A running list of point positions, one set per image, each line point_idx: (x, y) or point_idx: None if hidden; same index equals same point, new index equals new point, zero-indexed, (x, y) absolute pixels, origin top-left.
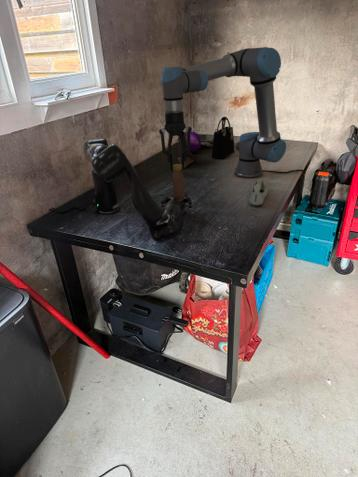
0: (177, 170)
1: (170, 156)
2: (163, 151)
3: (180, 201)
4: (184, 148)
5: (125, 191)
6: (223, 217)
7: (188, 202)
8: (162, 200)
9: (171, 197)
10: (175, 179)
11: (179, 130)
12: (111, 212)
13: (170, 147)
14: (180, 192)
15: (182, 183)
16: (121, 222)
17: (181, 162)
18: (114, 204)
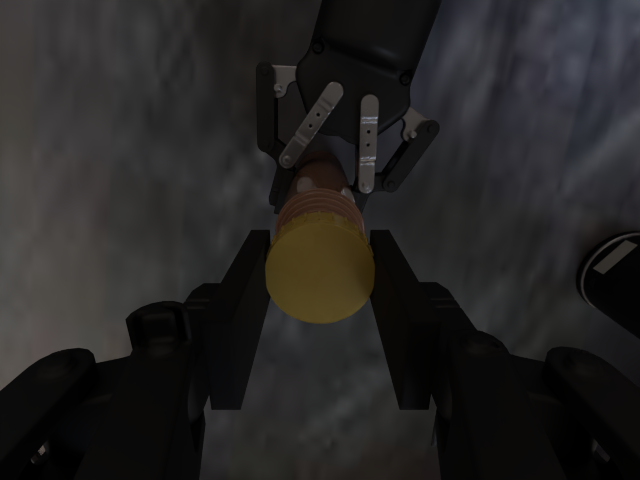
0: None
1: (432, 310)
2: (618, 388)
3: (324, 90)
4: (126, 408)
5: None
6: (116, 58)
7: (275, 84)
8: (425, 148)
9: (366, 179)
10: (345, 193)
11: None
12: (623, 234)
13: (490, 461)
14: (312, 168)
15: (290, 190)
16: (602, 130)
17: (264, 315)
18: (628, 259)
